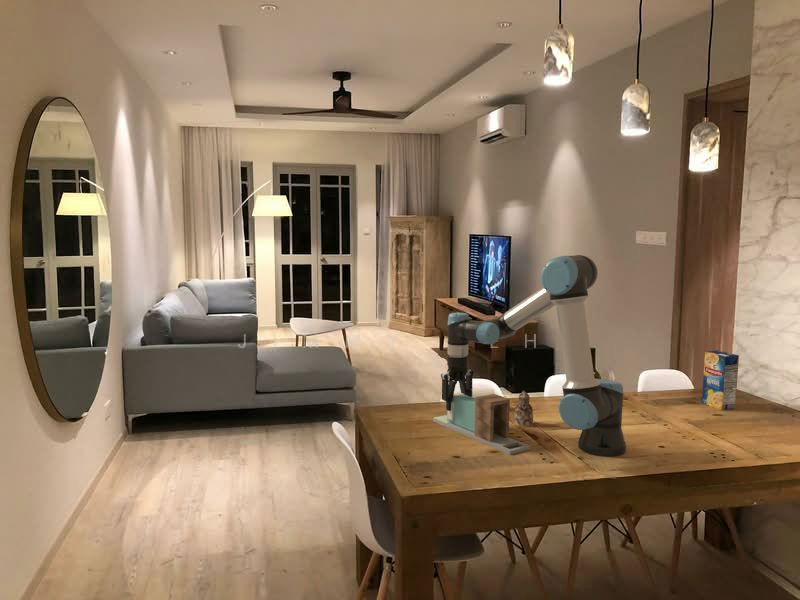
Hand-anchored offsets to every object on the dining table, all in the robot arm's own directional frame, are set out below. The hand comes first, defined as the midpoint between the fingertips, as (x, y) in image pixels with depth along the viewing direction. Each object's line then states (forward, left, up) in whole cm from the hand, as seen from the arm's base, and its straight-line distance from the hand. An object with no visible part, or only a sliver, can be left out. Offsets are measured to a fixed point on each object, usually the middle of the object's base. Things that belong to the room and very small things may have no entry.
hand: (456, 417), depth 244 cm
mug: (+15, -23, -3) cm, 28 cm away
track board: (-12, 0, -3) cm, 13 cm away
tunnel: (-19, 0, -2) cm, 19 cm away
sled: (-7, 0, -1) cm, 8 cm away
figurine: (-11, -22, -3) cm, 25 cm away
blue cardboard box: (-36, -107, -3) cm, 113 cm away
